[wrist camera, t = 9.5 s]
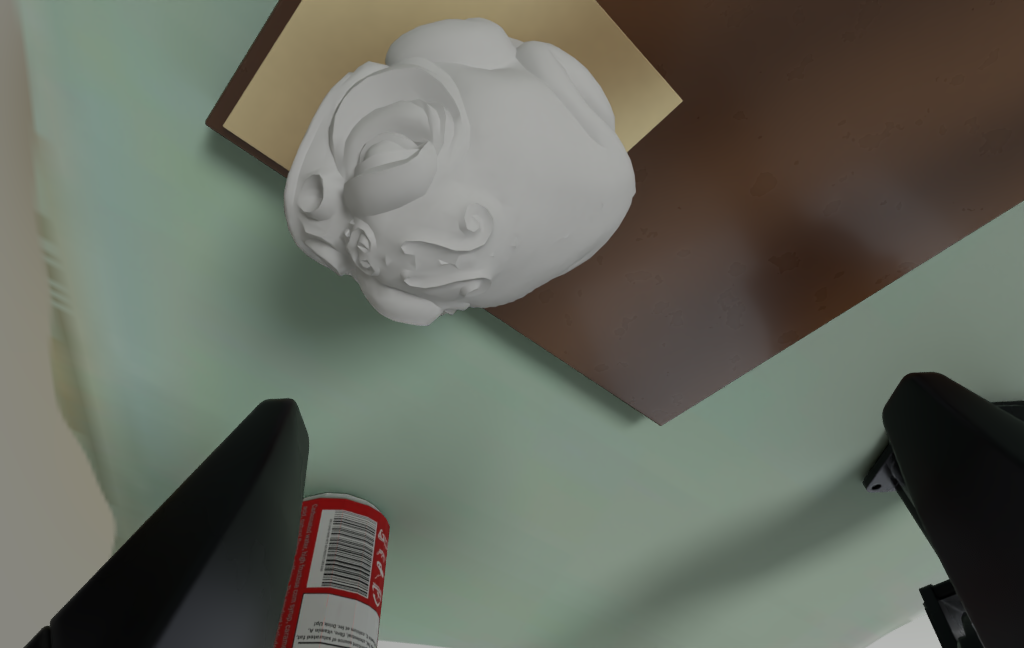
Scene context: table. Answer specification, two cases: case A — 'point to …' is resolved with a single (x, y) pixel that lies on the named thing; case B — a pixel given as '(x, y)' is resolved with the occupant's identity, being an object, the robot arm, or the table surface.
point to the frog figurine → (458, 172)
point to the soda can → (335, 575)
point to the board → (716, 159)
